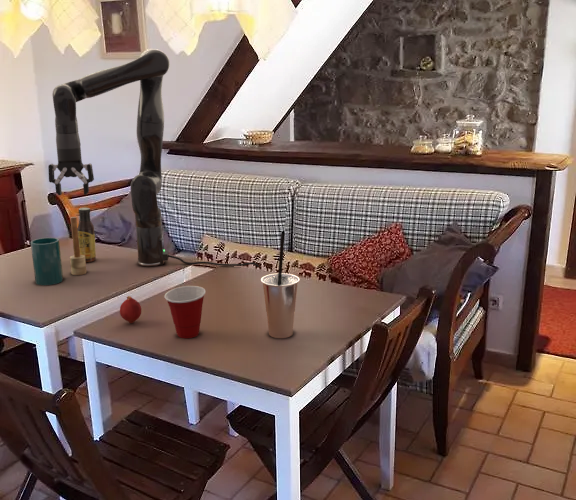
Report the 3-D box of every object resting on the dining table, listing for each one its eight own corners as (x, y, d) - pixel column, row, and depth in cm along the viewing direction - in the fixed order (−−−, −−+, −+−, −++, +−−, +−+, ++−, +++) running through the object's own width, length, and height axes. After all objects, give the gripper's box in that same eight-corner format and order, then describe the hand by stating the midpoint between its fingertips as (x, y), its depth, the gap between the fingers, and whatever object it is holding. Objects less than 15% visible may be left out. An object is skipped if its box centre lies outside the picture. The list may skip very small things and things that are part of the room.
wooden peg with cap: (87, 270, 226) (82, 215, 221) (84, 274, 221) (79, 218, 216) (73, 271, 226) (67, 215, 220) (70, 275, 221) (64, 219, 215)
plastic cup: (159, 333, 171) (156, 291, 168) (194, 323, 178) (192, 282, 174) (179, 346, 163) (176, 302, 160) (215, 335, 169) (213, 292, 166)
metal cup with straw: (284, 346, 162) (283, 232, 154) (252, 335, 169) (249, 225, 161) (310, 333, 170) (311, 224, 162) (279, 323, 177) (277, 218, 169)
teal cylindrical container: (66, 276, 220) (61, 237, 216) (59, 284, 211) (55, 243, 207) (39, 277, 219) (34, 238, 215) (32, 285, 210) (27, 244, 207)
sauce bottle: (75, 262, 236) (70, 209, 230) (85, 257, 242) (80, 206, 236) (90, 263, 234) (85, 210, 229) (100, 259, 240) (95, 207, 234)
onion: (131, 317, 182) (129, 291, 180) (146, 321, 180) (144, 294, 177) (116, 324, 178) (114, 297, 175) (131, 328, 175) (129, 300, 173)
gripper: (43, 148, 208) (48, 197, 212) (88, 147, 209) (92, 196, 213) (49, 145, 215) (54, 193, 219) (92, 145, 216) (96, 192, 221)
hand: (72, 194), depth 216 cm, fingers open, 8 cm apart
